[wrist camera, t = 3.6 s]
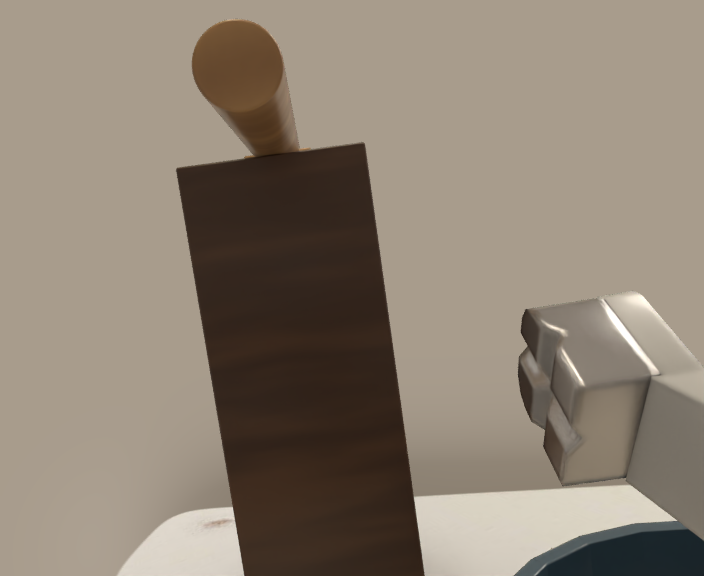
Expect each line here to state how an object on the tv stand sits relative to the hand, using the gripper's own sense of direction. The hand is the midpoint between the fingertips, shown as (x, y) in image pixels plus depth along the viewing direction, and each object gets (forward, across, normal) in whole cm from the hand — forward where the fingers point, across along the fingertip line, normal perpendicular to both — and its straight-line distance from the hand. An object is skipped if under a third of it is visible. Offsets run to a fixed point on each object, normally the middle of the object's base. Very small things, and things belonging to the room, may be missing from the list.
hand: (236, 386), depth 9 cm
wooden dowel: (+20, 0, +5) cm, 20 cm away
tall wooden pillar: (+12, 0, +29) cm, 31 cm away
